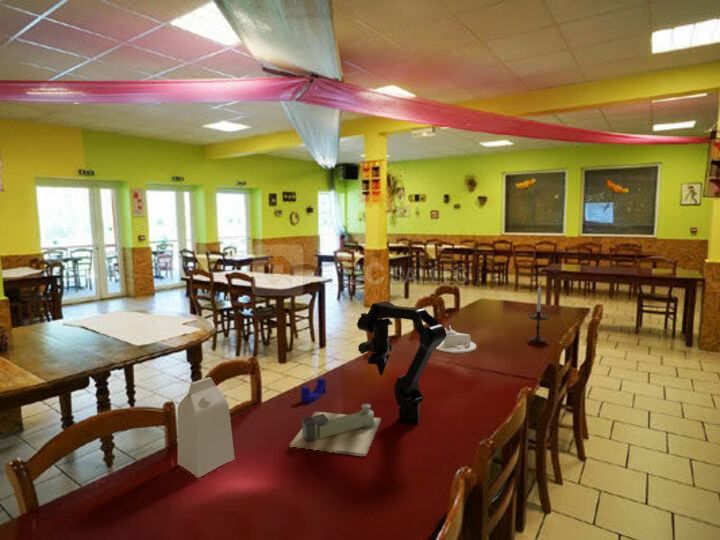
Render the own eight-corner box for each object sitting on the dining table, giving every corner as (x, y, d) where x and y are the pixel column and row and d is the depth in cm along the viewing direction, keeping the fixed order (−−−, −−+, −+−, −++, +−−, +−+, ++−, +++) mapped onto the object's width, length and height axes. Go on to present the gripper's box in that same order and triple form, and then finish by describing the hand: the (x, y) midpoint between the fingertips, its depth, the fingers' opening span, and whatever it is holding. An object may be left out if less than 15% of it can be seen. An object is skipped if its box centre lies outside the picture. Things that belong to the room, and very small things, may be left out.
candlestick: (549, 339, 254) (551, 280, 249) (545, 344, 245) (548, 282, 240) (529, 336, 260) (531, 278, 255) (525, 341, 250) (527, 281, 246)
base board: (380, 420, 156) (380, 417, 156) (365, 456, 133) (365, 453, 133) (315, 414, 163) (315, 410, 162) (289, 447, 139) (289, 443, 139)
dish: (428, 351, 235) (428, 331, 234) (434, 339, 259) (434, 320, 257) (475, 355, 228) (475, 334, 227) (476, 342, 252) (477, 323, 250)
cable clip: (310, 404, 172) (309, 389, 171) (301, 401, 174) (301, 387, 173) (328, 393, 182) (328, 379, 181) (320, 391, 184) (319, 377, 183)
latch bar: (369, 418, 155) (368, 401, 154) (376, 424, 150) (376, 406, 150) (315, 433, 145) (315, 414, 144) (321, 440, 141) (321, 421, 140)
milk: (213, 448, 139) (208, 370, 136) (234, 461, 132) (230, 378, 129) (177, 465, 130) (171, 382, 127) (198, 479, 123) (192, 391, 120)
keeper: (324, 432, 147) (323, 413, 146) (328, 437, 143) (327, 418, 142) (302, 437, 144) (302, 418, 143) (306, 442, 140) (306, 423, 139)
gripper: (365, 327, 175) (366, 365, 177) (353, 340, 157) (354, 382, 159) (393, 329, 172) (393, 367, 174) (384, 342, 154) (384, 384, 156)
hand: (381, 374), depth 166 cm, fingers closed
